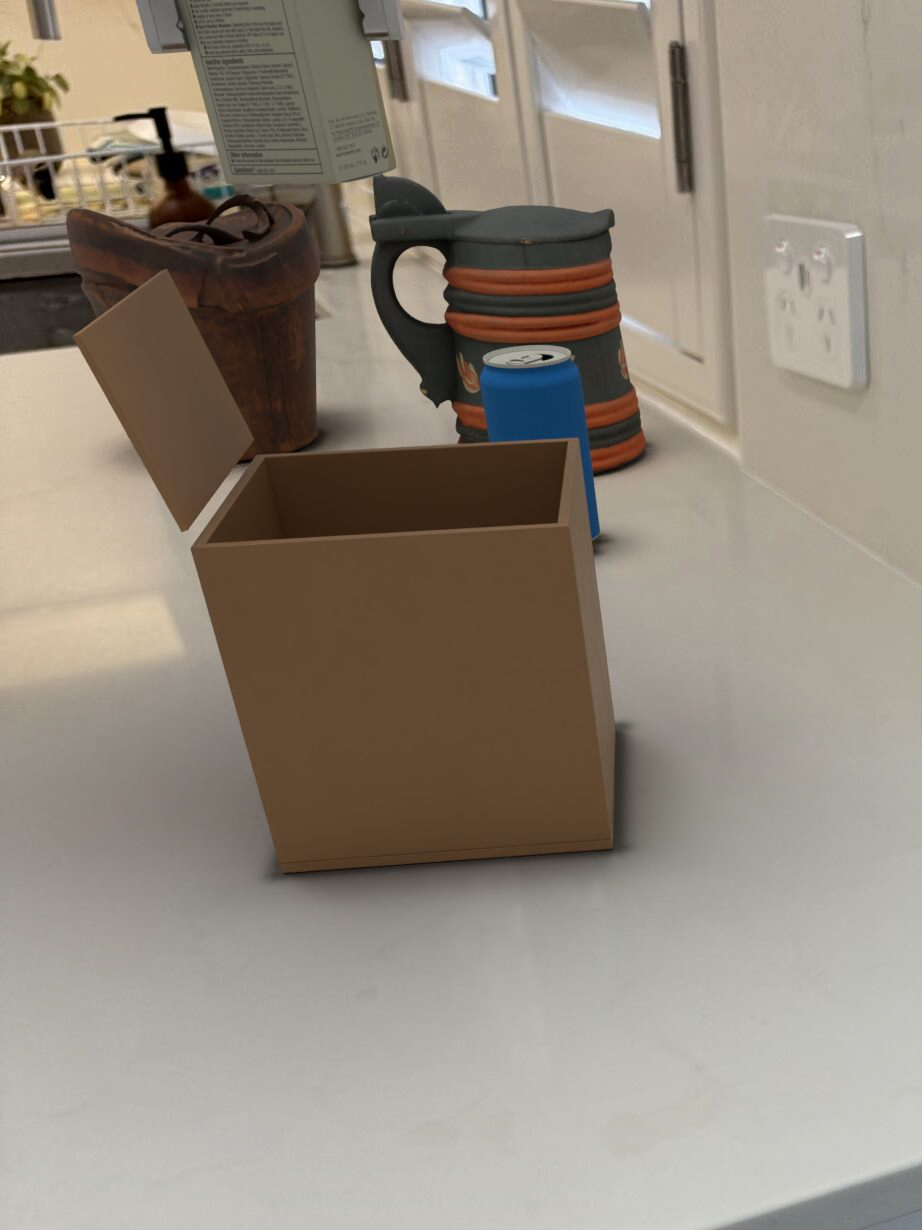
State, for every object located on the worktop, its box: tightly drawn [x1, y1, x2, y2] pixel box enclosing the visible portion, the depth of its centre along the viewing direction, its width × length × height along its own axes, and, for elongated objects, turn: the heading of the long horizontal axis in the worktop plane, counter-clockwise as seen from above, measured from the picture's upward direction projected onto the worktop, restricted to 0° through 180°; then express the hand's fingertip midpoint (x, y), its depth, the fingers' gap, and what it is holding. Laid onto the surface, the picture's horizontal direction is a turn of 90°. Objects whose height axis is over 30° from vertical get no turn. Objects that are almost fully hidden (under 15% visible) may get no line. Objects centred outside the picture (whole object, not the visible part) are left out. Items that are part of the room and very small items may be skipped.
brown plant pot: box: [65, 193, 321, 461], centre depth 127 cm, size 18×20×18 cm
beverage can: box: [480, 345, 601, 541], centre depth 105 cm, size 6×6×12 cm
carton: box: [190, 438, 617, 874], centre depth 73 cm, size 15×14×14 cm
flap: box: [72, 269, 254, 533], centre depth 65 cm, size 7×14×1 cm
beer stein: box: [368, 173, 647, 474], centre depth 120 cm, size 19×15×20 cm
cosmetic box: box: [177, 0, 398, 186], centre depth 63 cm, size 6×4×12 cm
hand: (281, 46), depth 64 cm, fingers closed on cosmetic box, 7 cm apart
